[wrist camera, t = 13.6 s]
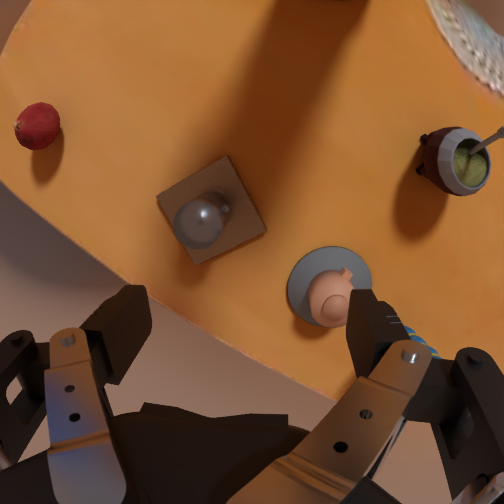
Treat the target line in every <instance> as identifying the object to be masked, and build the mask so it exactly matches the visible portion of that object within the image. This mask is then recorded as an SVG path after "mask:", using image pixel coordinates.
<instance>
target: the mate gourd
mask: <svg viewBox="0 0 504 504" xmlns="http://www.w3.org/2000/svg"><path fill="white" fill-rule="evenodd" d="M420 138H421V140H422V142H423V144H424V145H425V150H424V157H423V160H424V163H423V164H422V165H420V166H419V167H418V168H417V169H416V172H417V174H418V175H422V174H423V175H424V176H425V177H426V178H429V179H430V180H431V181H432V182H433V183H434V184H435V185H436V186H438V187H439V188H440V189H441V190H442V191H444V192H446V193H449V194H452V195H456V196H467V195H471V194H475V193H476V192H477V191H479V190H480V189H481V188H482V187H483V186H484V185H485V183H486V181H487V179H488V177H489V175H490V170H491V160H490V154H489V152H488V150H487V148H486V146H487V145H489V144H490V143H492V142H494V141H496V140H497V139H499V138H504V126H502V127H501V128H500V129H499V130H497V133H495V134H494V135H492V136H490V137H489V138H487V139H485V140H484V141H483V140H482V139H481V138H480V137H479V136H478V135H477V134H476V133H475V132H473V131H470V130H467V129H465V128H461V127H447V128H442V129H440V130H437V131H434V132H431V133H430V134H429V135H428V136H427V135H426V134H424V135H422V136H421V137H420Z"/></svg>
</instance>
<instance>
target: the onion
mask: <svg viewBox="0 0 504 504" xmlns="http://www.w3.org/2000/svg"><path fill="white" fill-rule="evenodd" d="M13 126H14V129H15V135H16V137H17V140H18V141H19V143H20V144H21V145H22V146H24V147H26V148H28V149H30V150H39V149H44V148H46V147H47V146H49V145H50V144H51V143H52V142H53V141H54V140H55V138H56V136H57V134H58V131H59V128H60V118H59V114H58V112H57V111H56V109H55V108H54V107H53V106H52V105H50V104H46V103H42V102H40V103H36V104H33V105H30V106H28V107H27V108H26V109H25V110H24V111H23V112H22V113H21V114H20V115H19V117H18V119H17V121H15V123H14V124H13Z"/></svg>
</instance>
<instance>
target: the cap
mask: <svg viewBox="0 0 504 504" xmlns="http://www.w3.org/2000/svg"><path fill="white" fill-rule="evenodd" d="M352 276H353V274H352V273H351V271H350V270H348V269H346V268H345V267H343V269H342V270H341V271H338V270H326V271H323V272H320V273H319V274H317V275H316V276H315V277H314V278H313V279H312V280H311V282H310V284H309V287H308V297H309V302H310V307H311V315H312V317H313V318H314V319H315V320H316V321H317V322H318V323H319V324H320V325H322V326H325V327H329V328H337V327H341V326H344V325H346V323H347V316H348V308H349V300H350V293H351V290H352V289H354V287H353V285H352V283H351V281H350V279H351V277H352Z"/></svg>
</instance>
